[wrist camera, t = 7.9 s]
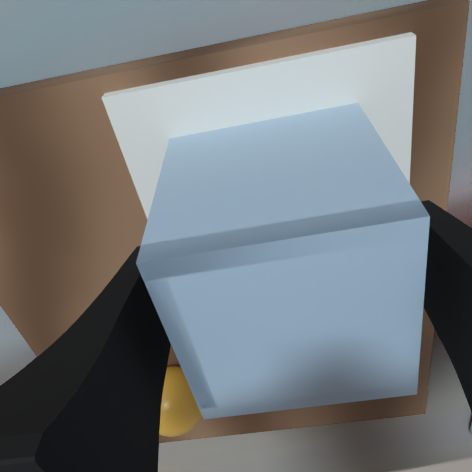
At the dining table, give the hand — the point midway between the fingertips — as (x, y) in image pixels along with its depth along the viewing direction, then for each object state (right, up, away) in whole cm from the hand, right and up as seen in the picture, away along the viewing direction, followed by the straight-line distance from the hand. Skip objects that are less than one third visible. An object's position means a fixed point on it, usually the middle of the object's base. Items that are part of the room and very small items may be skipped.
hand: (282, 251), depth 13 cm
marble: (-4, -7, +7) cm, 11 cm away
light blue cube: (0, +2, +2) cm, 3 cm away
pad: (0, +2, +3) cm, 3 cm away
